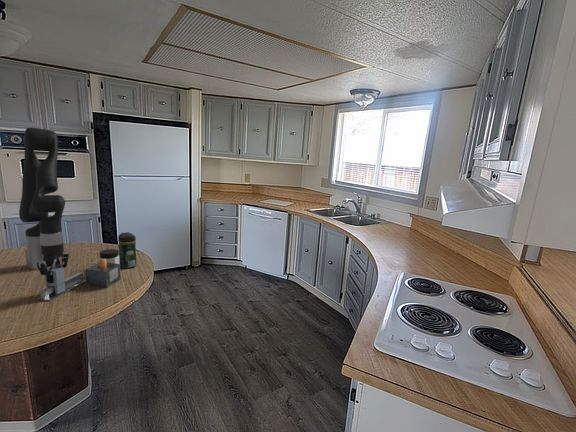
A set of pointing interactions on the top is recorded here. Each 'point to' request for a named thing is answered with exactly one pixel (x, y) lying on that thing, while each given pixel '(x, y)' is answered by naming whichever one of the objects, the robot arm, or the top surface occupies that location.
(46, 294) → the rail
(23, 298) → the top surface
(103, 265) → the orange peg
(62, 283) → the block
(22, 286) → the top surface
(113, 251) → the jar
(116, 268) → the block with square hole
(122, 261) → the coffee jar
